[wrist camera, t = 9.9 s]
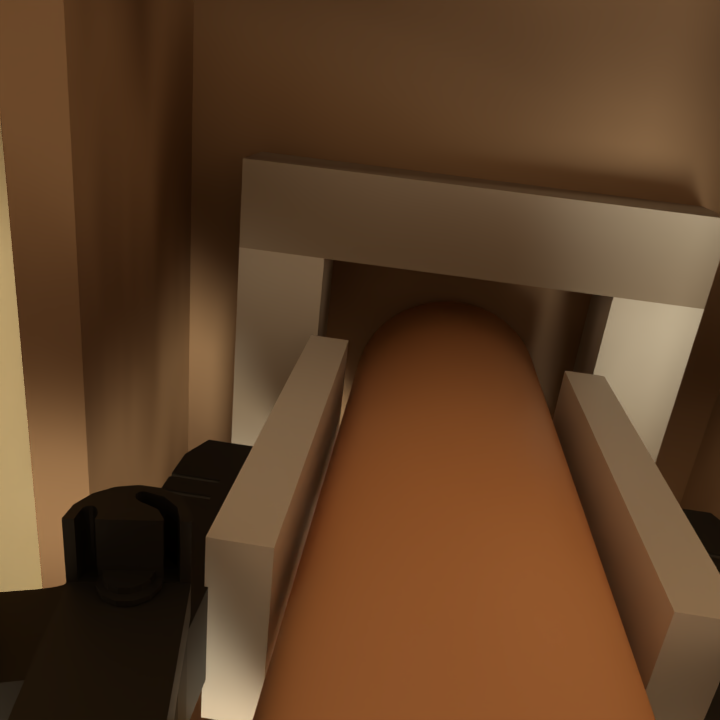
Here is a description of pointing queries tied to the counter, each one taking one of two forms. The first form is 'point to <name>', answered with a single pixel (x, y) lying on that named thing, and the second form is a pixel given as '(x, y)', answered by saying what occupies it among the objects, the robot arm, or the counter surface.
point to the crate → (351, 211)
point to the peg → (450, 548)
